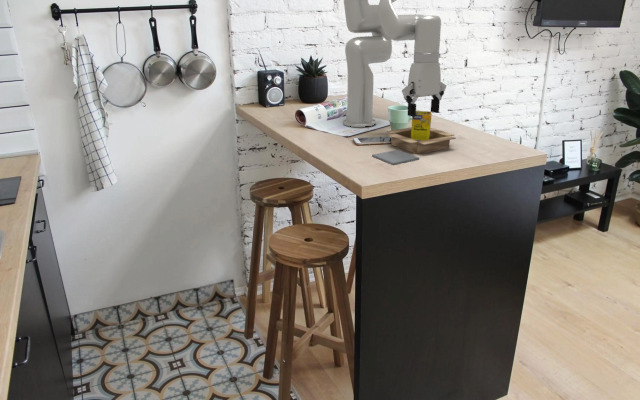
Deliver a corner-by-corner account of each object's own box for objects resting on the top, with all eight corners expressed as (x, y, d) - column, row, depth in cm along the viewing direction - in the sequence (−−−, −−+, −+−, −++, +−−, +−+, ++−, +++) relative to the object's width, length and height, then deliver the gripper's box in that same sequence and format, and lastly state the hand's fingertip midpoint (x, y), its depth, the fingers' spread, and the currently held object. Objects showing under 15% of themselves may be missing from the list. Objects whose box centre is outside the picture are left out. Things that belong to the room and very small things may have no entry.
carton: (380, 143, 172) (380, 132, 171) (421, 135, 181) (422, 125, 179) (417, 157, 158) (417, 145, 156) (460, 148, 166) (461, 136, 165)
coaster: (372, 156, 159) (372, 154, 158) (397, 151, 164) (397, 149, 163) (392, 165, 151) (393, 163, 151) (419, 159, 156) (419, 157, 155)
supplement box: (428, 149, 166) (431, 115, 162) (409, 148, 167) (412, 114, 163) (429, 144, 171) (431, 111, 167) (410, 143, 172) (412, 110, 168)
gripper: (438, 55, 166) (435, 109, 172) (396, 59, 158) (394, 115, 164) (455, 57, 160) (451, 112, 166) (412, 61, 151) (410, 119, 158)
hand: (423, 114), depth 165 cm, fingers open, 9 cm apart
